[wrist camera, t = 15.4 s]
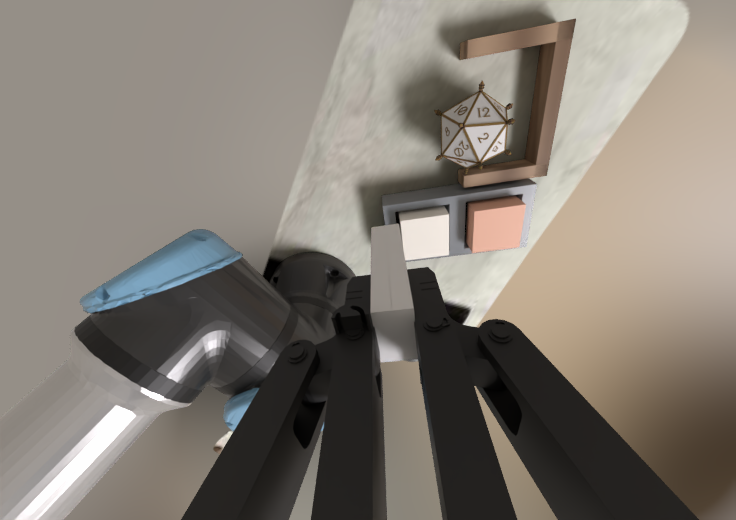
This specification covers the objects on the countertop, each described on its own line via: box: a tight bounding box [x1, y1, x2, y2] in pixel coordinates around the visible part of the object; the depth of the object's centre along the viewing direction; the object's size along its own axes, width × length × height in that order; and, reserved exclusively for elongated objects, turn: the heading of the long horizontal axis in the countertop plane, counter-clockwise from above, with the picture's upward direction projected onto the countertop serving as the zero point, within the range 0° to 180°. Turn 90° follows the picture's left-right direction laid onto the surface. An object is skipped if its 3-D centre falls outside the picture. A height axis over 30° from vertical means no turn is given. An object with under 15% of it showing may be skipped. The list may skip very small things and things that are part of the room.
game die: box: [434, 81, 515, 174], centre depth 31 cm, size 9×8×10 cm
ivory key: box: [399, 205, 449, 261], centre depth 38 cm, size 6×6×3 cm
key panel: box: [382, 178, 537, 262], centre depth 39 cm, size 19×9×4 cm, turn 99°
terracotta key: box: [466, 196, 526, 253], centre depth 37 cm, size 6×6×3 cm
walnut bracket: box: [458, 19, 576, 188], centre depth 32 cm, size 10×15×3 cm, turn 9°
